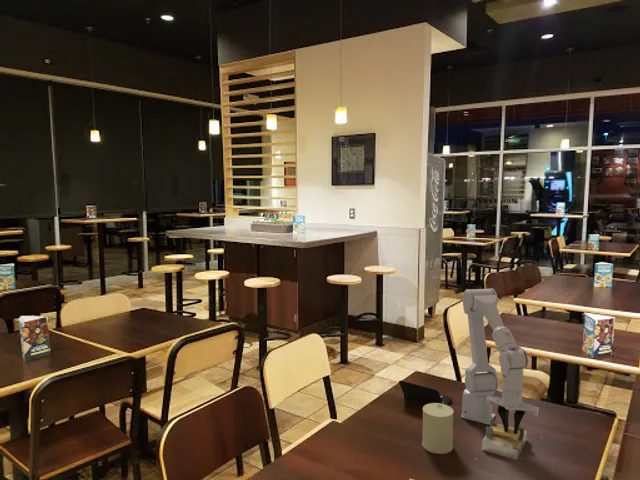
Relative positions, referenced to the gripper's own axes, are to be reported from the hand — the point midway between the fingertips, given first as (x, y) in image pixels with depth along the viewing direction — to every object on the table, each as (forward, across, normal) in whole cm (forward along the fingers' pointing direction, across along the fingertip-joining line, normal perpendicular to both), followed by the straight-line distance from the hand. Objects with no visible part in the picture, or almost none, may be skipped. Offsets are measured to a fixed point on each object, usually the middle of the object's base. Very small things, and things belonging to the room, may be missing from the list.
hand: (510, 431), depth 145 cm
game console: (+5, -33, +15) cm, 36 cm away
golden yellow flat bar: (+1, -2, 0) cm, 2 cm away
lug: (+2, +2, +3) cm, 4 cm away
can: (+5, -19, -11) cm, 22 cm away
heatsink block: (+5, -2, 0) cm, 5 cm away
